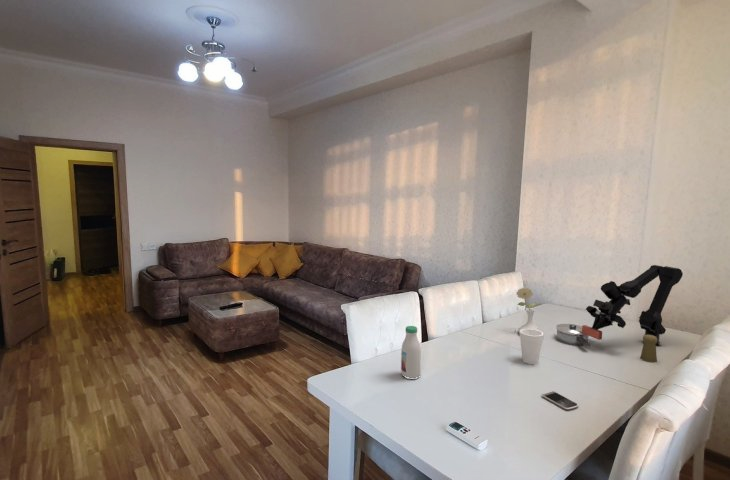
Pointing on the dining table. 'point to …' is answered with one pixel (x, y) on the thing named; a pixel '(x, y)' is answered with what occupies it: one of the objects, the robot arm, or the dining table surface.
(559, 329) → the lid
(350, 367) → the dining table surface
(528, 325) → the flower in vase
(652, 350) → the cork
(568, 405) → the cell phone
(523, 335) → the foam cup
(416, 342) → the milk bottle
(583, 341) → the pot
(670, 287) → the robot arm
